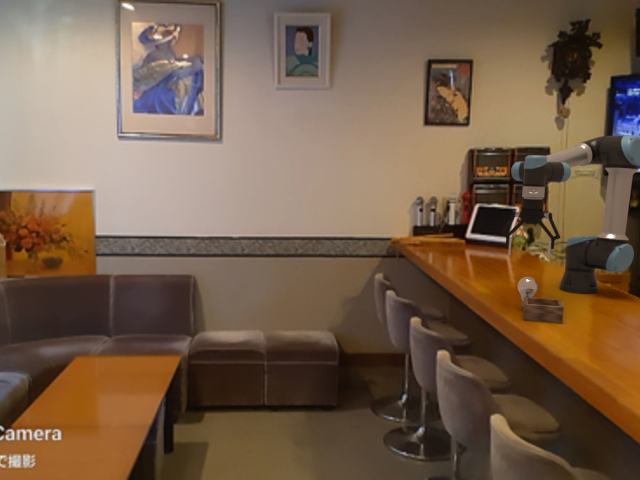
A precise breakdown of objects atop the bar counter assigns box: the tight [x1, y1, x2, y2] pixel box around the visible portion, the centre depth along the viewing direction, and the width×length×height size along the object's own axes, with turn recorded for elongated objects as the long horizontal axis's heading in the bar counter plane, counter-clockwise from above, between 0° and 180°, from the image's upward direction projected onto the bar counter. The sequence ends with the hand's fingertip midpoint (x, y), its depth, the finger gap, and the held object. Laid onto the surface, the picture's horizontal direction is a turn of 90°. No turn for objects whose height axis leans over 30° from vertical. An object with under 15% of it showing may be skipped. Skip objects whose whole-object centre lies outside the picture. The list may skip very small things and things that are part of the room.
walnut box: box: [522, 296, 564, 324], centre depth 207 cm, size 12×12×6 cm
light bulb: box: [517, 276, 538, 307], centre depth 218 cm, size 7×7×12 cm
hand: (528, 256), depth 217 cm, fingers open, 13 cm apart
